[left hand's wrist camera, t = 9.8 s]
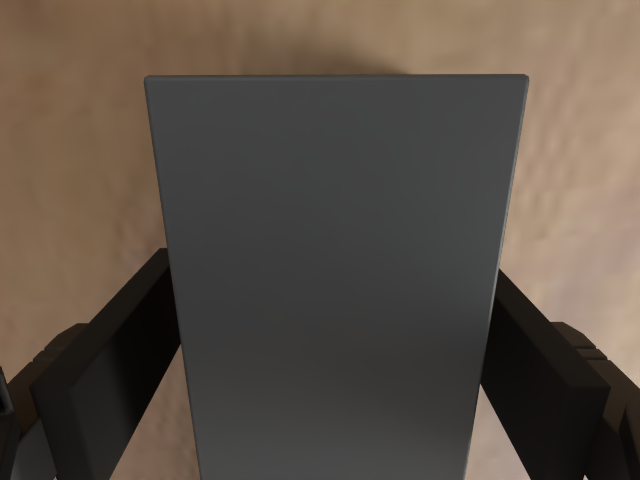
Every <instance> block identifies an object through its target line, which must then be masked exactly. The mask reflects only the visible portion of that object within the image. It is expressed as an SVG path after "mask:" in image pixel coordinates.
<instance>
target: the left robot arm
mask: <svg viewBox="0 0 640 480" xmlns="http://www.w3.org/2000/svg"><path fill="white" fill-rule="evenodd" d="M180 344H181V339H180V332H179V325H178V318H177V311H176V304H175V297H174V290H173V283H172V276H171V269H170V262H169V255H168V248H160V249H159V250H158V251H157V252H156V253H155V254H154V255H153V256H152V257H151V258H150V259H149V260H148V261H147V262H146V263H145V264H144V265H143V266H142V268H141V269H140V270H139V271H138V272H137V273H136V274H135V275H134V276H133V277H132V278H131V279H130V280H129V281H128V282H127V283H126V284H125V285H124V287H123V288H122V289H121V290H120V291H119V292H118V293H117V294H116V295H115V296H114V297H113V298H112V299H111V300H110V301H109V302H108V303H107V304H106V306H105V307H104V308H103V309H102V310H101V311H100V312H99V313H98V314H97V315H96V316H95V317H94V318H93V319H92V320H91V321H90V322H89V323H77V324H76V325H74V326H72V327H70V328H69V329H67V330H65V331H63V332H62V333H60V334H58V335H57V336H56V337H55V338H54V339H53V340H52V341H51V342H50V343H49V344H48V345H47V346H46V347H45V348H44V351H41V352H40V353H39V354H38V355H37V356H36V357H35V358H34V359H33V362H29V363H28V364H27V365H26V366H25V367H24V368H23V369H22V370H21V371H20V372H19V373H18V374H17V375H16V376H15V377H14V378H13V379H12V380H11V381H10V382H9V383H8V384H7V382H6V379H5V376H4V373H3V370H2V367H1V366H0V480H53V479H54V478H55V476H56V478H57V480H109V479H110V477H111V475H112V473H113V471H114V469H115V467H116V465H117V464H118V462H119V460H120V458H121V456H122V454H123V452H124V450H125V448H126V446H127V445H128V443H129V441H130V439H131V437H132V435H133V433H134V431H135V429H136V427H137V426H138V424H139V422H140V420H141V418H142V416H143V414H144V412H145V410H146V409H147V407H148V405H149V403H150V401H151V399H152V397H153V395H154V393H155V391H156V390H157V388H158V386H159V384H160V382H161V380H162V378H163V376H164V374H165V372H166V371H167V369H168V367H169V365H170V363H171V361H172V359H173V357H174V355H175V353H176V352H177V350H178V348H179V346H180ZM480 384H481V386H482V388H483V390H484V391H485V393H486V395H487V397H488V399H489V401H490V403H491V405H492V407H493V409H494V410H495V412H496V414H497V416H498V418H499V420H500V422H501V424H502V426H503V428H504V429H505V431H506V433H507V435H508V437H509V439H510V441H511V443H512V445H513V447H514V448H515V450H516V452H517V454H518V456H519V458H520V460H521V462H522V464H523V465H524V467H525V469H526V471H527V473H528V475H529V477H530V479H531V480H583V478H584V475H586V477H587V478H588V480H640V389H639V388H638V387H637V386H636V385H635V384H634V383H633V382H632V381H631V380H630V379H629V378H628V377H627V376H626V375H625V374H624V373H623V372H622V371H621V370H620V369H619V368H618V367H617V366H616V365H615V364H614V363H613V362H612V361H611V360H608V359H607V357H606V356H605V355H604V354H603V353H602V352H601V351H600V350H599V349H596V346H595V345H594V344H593V343H592V342H591V341H590V340H589V339H588V338H587V337H586V336H585V335H584V334H583V333H581V332H579V331H578V330H576V329H574V328H572V327H571V326H569V325H567V324H565V323H564V322H550V321H549V320H548V319H547V318H546V317H545V316H544V315H543V314H542V313H541V312H540V311H539V310H538V309H537V308H536V307H535V306H534V305H533V303H532V302H531V301H530V300H529V299H528V298H527V297H526V296H525V295H524V294H523V293H522V292H521V291H520V290H519V289H518V288H517V287H516V286H515V284H514V283H513V282H512V281H511V280H510V279H509V278H508V277H507V276H506V275H505V274H504V273H503V272H502V271H501V270H500V269H499V270H498V276H497V283H496V289H495V295H494V301H493V307H492V313H491V319H490V326H489V332H488V338H487V344H486V350H485V356H484V363H483V369H482V375H481V381H480Z"/></svg>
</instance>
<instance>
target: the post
mask: <svg viewBox="0 0 640 480" xmlns="http://www.w3.org/2000/svg"><path fill="white" fill-rule="evenodd" d="M528 85H529V77H528V76H527V75H525V74H415V75H149V76H147V77H145V78H144V88H145V95H146V102H147V109H148V116H149V122H150V130H151V136H152V143H153V150H154V157H155V164H156V171H157V178H158V185H159V192H160V199H161V206H162V213H163V220H164V227H165V234H166V241H167V248H168V255H169V262H170V269H171V276H172V283H173V290H174V297H175V304H176V311H177V318H178V325H179V332H180V339H181V346H182V353H183V360H184V367H185V374H186V381H187V388H188V395H189V402H190V409H191V416H192V423H193V430H194V437H195V444H196V451H197V458H198V465H199V472H200V479H201V480H465V473H466V467H467V461H468V455H469V449H470V443H471V437H472V430H473V424H474V418H475V412H476V406H477V400H478V393H479V387H480V381H481V375H482V369H483V363H484V356H485V350H486V344H487V338H488V332H489V326H490V319H491V313H492V307H493V301H494V295H495V289H496V283H497V276H498V270H499V264H500V258H501V252H502V246H503V239H504V233H505V227H506V221H507V215H508V209H509V202H510V196H511V190H512V184H513V178H514V172H515V165H516V159H517V153H518V147H519V141H520V135H521V129H522V122H523V116H524V110H525V104H526V98H527V92H528Z"/></svg>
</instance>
